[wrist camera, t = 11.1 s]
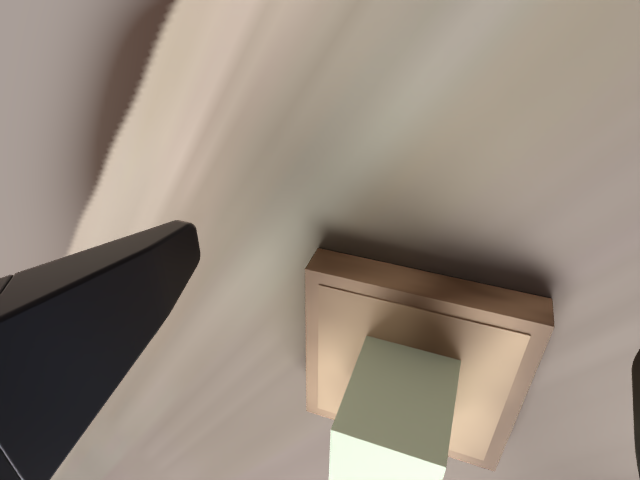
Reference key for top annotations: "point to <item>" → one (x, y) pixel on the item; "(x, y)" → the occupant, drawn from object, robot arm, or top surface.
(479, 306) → the base board
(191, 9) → the top surface
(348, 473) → the block
